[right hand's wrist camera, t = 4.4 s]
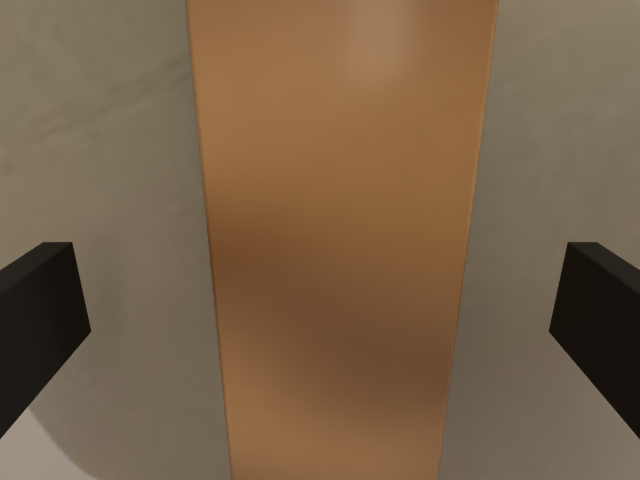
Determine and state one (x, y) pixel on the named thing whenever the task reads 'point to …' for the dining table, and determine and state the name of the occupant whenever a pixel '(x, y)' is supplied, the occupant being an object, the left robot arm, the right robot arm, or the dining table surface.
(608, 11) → the dining table surface
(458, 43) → the beam
